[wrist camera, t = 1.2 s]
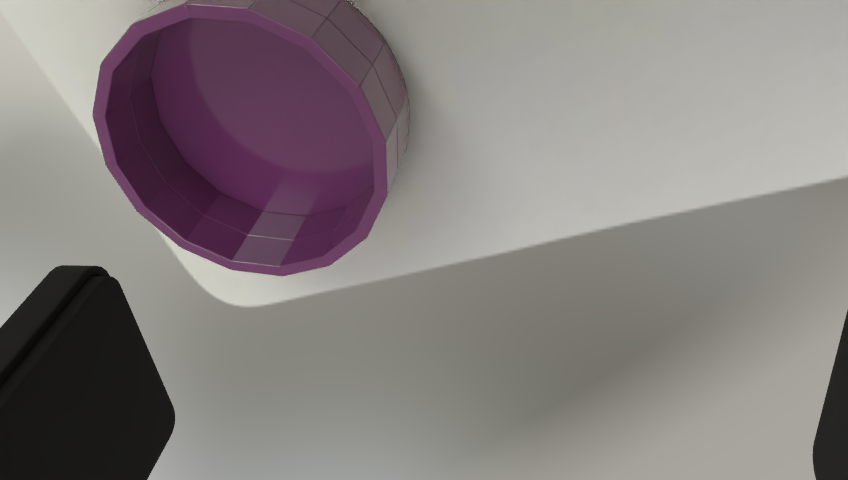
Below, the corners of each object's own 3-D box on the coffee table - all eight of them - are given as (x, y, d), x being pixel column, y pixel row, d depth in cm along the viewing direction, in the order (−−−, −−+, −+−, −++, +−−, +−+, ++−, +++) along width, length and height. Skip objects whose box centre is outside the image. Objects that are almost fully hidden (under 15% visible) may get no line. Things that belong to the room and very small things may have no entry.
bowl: (95, 20, 37) (35, 61, 33) (337, -78, 33) (300, -43, 29) (231, 239, 44) (194, 296, 40) (449, 184, 39) (432, 242, 35)
